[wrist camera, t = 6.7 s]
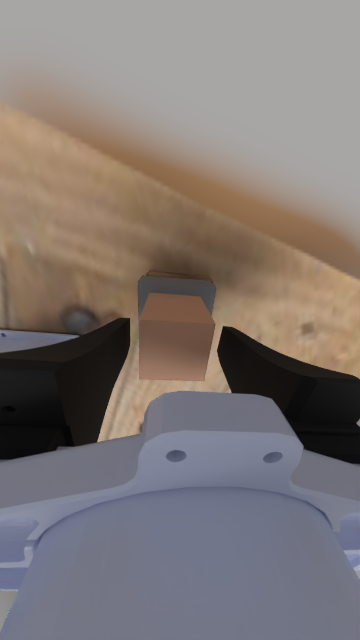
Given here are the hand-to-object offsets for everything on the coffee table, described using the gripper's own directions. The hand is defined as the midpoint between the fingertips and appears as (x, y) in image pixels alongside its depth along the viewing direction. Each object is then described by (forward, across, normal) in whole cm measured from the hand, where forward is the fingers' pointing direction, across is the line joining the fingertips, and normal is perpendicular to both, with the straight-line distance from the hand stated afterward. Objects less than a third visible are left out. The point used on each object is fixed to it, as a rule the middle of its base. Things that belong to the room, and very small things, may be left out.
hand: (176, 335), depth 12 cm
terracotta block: (+3, 0, 0) cm, 3 cm away
